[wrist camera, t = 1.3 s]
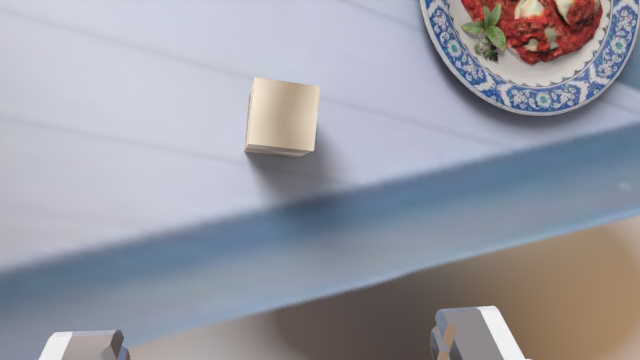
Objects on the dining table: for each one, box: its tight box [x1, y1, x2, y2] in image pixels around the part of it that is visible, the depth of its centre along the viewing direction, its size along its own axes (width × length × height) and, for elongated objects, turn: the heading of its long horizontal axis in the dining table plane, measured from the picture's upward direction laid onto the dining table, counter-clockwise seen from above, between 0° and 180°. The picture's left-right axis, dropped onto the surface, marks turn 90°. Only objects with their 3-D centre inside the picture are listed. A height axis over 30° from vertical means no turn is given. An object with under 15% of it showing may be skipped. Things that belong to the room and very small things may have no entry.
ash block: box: [244, 77, 320, 157], centre depth 38 cm, size 5×5×8 cm
